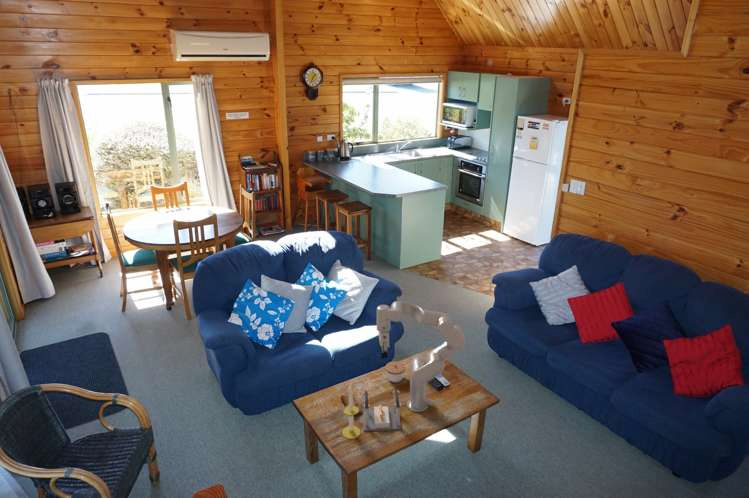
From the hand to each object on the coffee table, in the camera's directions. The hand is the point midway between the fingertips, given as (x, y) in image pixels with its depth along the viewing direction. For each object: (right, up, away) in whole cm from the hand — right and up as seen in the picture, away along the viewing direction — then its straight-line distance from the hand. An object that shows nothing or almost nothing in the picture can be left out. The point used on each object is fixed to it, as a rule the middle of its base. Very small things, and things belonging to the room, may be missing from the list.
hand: (383, 352), depth 289 cm
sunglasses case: (-18, -35, +12) cm, 41 cm away
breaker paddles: (-1, -35, -1) cm, 35 cm away
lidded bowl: (+8, -24, +36) cm, 44 cm away
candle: (-18, -42, -8) cm, 47 cm away
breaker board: (-1, -38, 0) cm, 38 cm away
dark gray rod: (+7, -25, -4) cm, 27 cm away
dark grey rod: (-10, -26, -5) cm, 28 cm away
